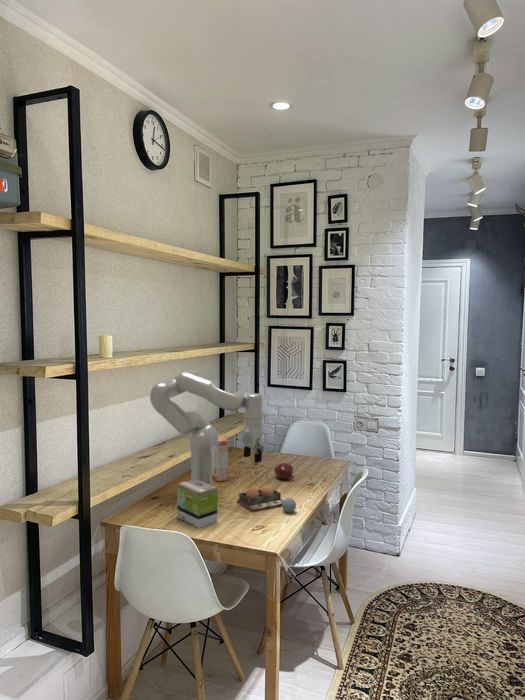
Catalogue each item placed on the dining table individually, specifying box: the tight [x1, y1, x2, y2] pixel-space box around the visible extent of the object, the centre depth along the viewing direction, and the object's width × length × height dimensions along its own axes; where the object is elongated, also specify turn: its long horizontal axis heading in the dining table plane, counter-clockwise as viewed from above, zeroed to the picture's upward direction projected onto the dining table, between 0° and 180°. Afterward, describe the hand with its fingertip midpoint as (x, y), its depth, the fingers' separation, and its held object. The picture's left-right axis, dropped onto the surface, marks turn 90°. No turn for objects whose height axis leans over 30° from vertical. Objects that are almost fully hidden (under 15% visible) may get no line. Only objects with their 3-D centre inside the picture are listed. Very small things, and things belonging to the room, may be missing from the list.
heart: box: [273, 462, 294, 481], centre depth 275 cm, size 12×8×10 cm
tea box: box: [176, 479, 218, 529], centre depth 217 cm, size 15×10×15 cm
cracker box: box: [211, 434, 229, 482], centre depth 274 cm, size 14×6×21 cm, turn 22°
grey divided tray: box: [236, 489, 285, 514], centre depth 237 cm, size 18×14×4 cm
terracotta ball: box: [246, 487, 259, 499], centre depth 236 cm, size 6×6×6 cm
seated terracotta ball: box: [260, 484, 275, 496], centre depth 240 cm, size 6×6×6 cm
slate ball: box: [281, 497, 297, 514], centre depth 227 cm, size 6×6×6 cm
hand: (252, 459), depth 235 cm, fingers open, 9 cm apart
